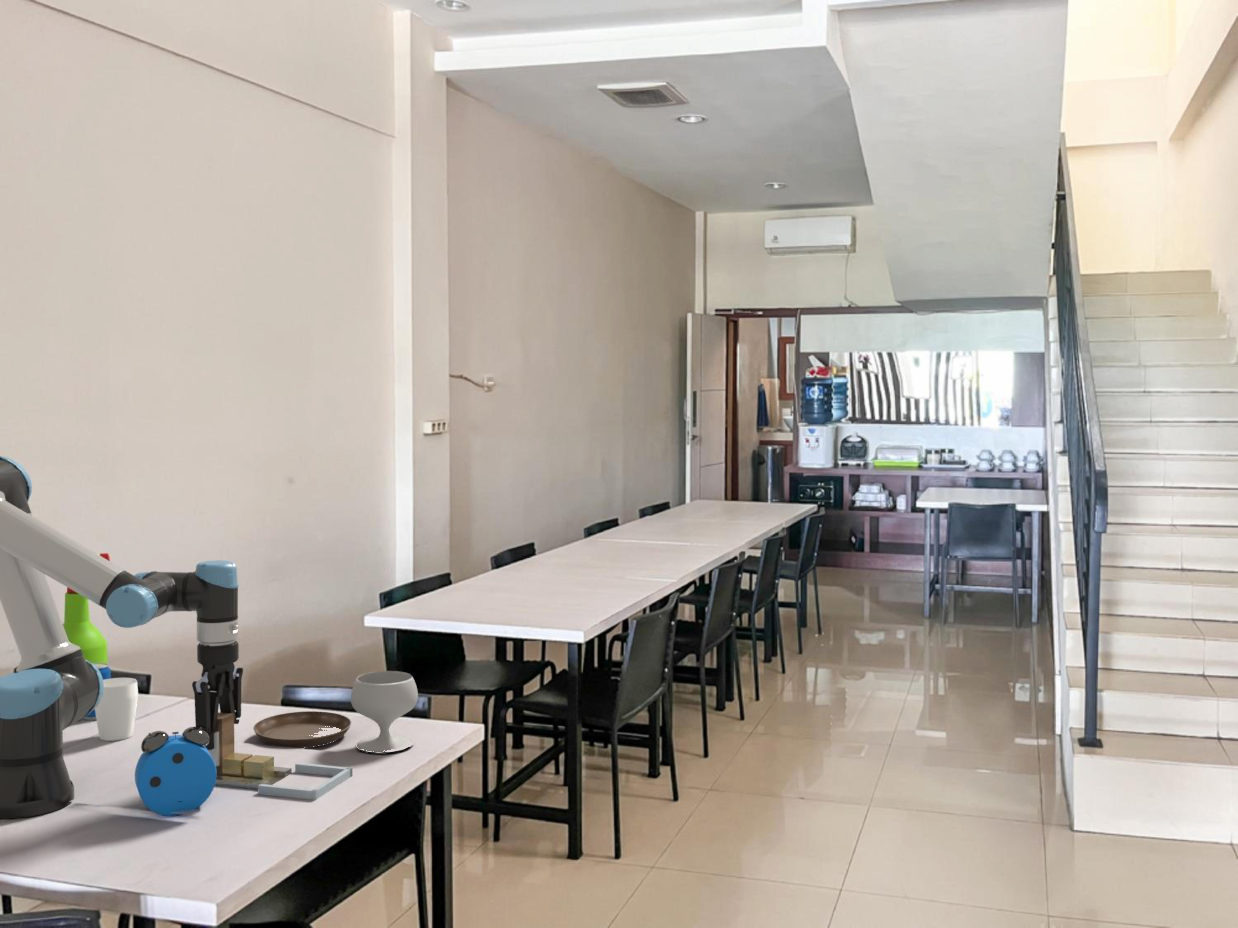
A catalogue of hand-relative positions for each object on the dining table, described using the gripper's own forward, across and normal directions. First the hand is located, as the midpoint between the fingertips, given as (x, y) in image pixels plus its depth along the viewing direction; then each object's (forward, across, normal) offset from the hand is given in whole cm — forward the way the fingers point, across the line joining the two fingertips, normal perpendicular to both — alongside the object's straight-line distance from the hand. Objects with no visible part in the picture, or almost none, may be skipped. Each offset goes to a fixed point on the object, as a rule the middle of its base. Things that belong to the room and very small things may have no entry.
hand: (219, 760), depth 220 cm
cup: (+4, +19, +38) cm, 43 cm away
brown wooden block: (+2, 0, 0) cm, 2 cm away
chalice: (+4, +29, -21) cm, 36 cm away
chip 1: (+3, 0, -4) cm, 5 cm away
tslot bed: (+4, 0, -5) cm, 6 cm away
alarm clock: (+4, -17, -3) cm, 18 cm away
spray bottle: (+4, +49, +70) cm, 86 cm away
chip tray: (+4, 0, -19) cm, 19 cm away
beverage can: (+4, +31, +53) cm, 62 cm away
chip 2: (+3, 0, -9) cm, 9 cm away
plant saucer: (+4, +30, -1) cm, 30 cm away
